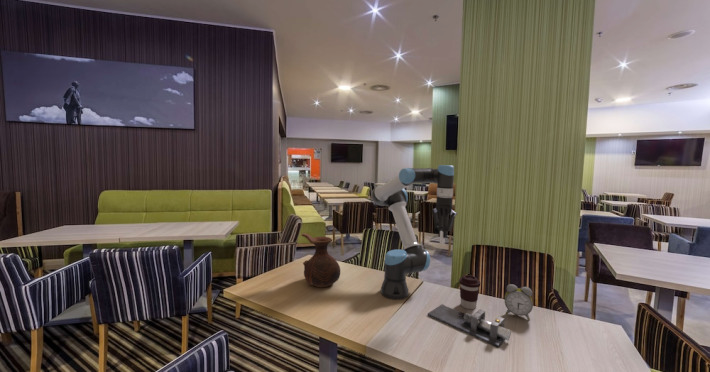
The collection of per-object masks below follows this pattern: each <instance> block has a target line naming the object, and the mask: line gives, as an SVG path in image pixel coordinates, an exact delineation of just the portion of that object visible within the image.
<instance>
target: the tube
mask: <svg viewBox="0 0 710 372" xmlns="http://www.w3.org/2000/svg"><path fill="white" fill-rule="evenodd" d="M464 314H465V315H464V321H465V322H466V323H469V324H471V316H472V315H473V314H471V313H468V312H466V313H465V312H464ZM491 323H492V322H490V321H488V320H487V319H485V320H484V319H481V318H479V319H478V328H480V329H483V330H485V331H487V332H490V326H491ZM511 335H512V330H511V329H508V328H506V327H505V326H504V327H501V326H499V327H498V335H497V336H499V337H501V338H504V339H505V341H506V340H507V341H509V340H510V339H511Z"/></svg>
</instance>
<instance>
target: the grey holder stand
mask: <svg viewBox="0 0 710 372" xmlns="http://www.w3.org/2000/svg"><path fill="white" fill-rule="evenodd" d="M464 315H465V312H461V311H459V310H457V309H454V308H452V307H449V306H446V305H445V304H441V305H439V306H436V307H435V308H434V309H432V310H430V311H429V312H428V313H427V316H428V317H430V318H432V319H434V320H437V321H439V322H441V323H443V324H445V325H447V324H448V326H449V327H451V328H455V329H456V330H459V331H461V332H463V333H465V334H467V335H469V336H471V337H474V338H475V339H479V340H480V341H482V342H485V343H487V344H490V345H491V346H493V347H496V348H499V347H500V346H501V345H502V344H503V343H504V342H505V341H506V339H504V338H501V337H499V336H497V335H498V327H499V326H501V327H504V328H505V317H502V316H497V317H496V318H494V320H493V321H492V322H491V326H490V332H487V331H485V330H483V329H480V328H478V319H479V318H481V319H484V320H486V319H485V318H486V311H485V310H483V309H481V308H480V309H478V310H476V311H475V312H474V313H473V314H471V315H472V316H471V324H469V323H466V322H465V321H464Z"/></svg>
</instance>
